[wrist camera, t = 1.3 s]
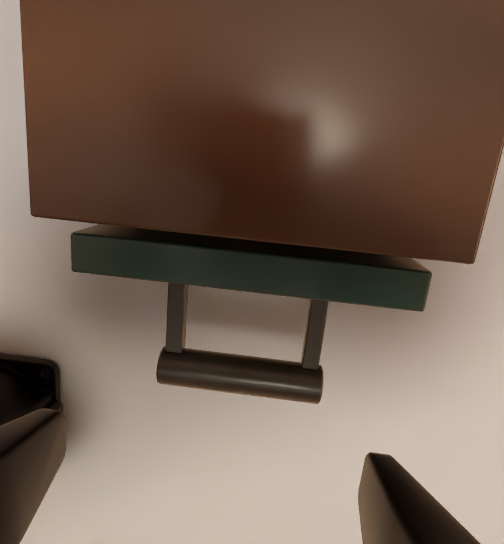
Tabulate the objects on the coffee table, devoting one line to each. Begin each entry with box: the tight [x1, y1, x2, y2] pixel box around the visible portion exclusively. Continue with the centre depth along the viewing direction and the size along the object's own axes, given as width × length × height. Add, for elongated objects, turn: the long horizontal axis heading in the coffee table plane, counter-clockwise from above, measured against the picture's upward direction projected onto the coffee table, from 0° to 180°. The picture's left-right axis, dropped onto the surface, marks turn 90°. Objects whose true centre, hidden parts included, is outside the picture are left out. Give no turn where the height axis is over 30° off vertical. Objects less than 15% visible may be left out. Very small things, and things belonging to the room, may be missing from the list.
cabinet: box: [20, 0, 504, 264], centre depth 13 cm, size 12×12×8 cm
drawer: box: [71, 224, 432, 404], centre depth 14 cm, size 15×10×6 cm
